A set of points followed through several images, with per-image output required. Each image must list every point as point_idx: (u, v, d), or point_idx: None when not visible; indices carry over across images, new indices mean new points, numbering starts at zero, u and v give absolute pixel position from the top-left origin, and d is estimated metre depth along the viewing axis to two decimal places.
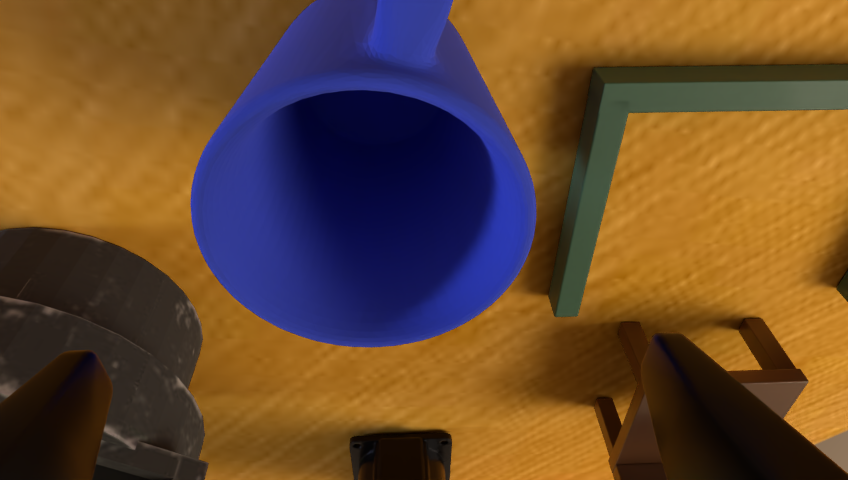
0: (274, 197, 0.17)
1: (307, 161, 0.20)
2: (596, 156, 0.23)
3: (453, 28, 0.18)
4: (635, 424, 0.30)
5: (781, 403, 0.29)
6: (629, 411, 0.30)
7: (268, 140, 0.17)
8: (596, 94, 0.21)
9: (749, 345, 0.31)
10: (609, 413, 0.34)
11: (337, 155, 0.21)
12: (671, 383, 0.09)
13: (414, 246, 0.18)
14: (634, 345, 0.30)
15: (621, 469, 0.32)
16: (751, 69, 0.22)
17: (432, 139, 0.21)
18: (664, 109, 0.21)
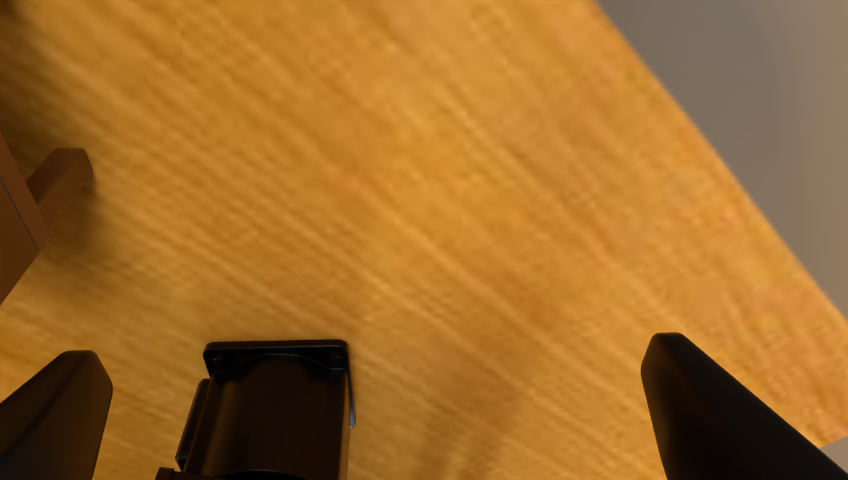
0: None
1: None
2: None
3: None
4: None
5: None
6: None
7: None
8: None
9: None
10: None
11: None
12: (671, 383, 0.09)
13: None
14: None
15: None
16: None
17: None
18: None
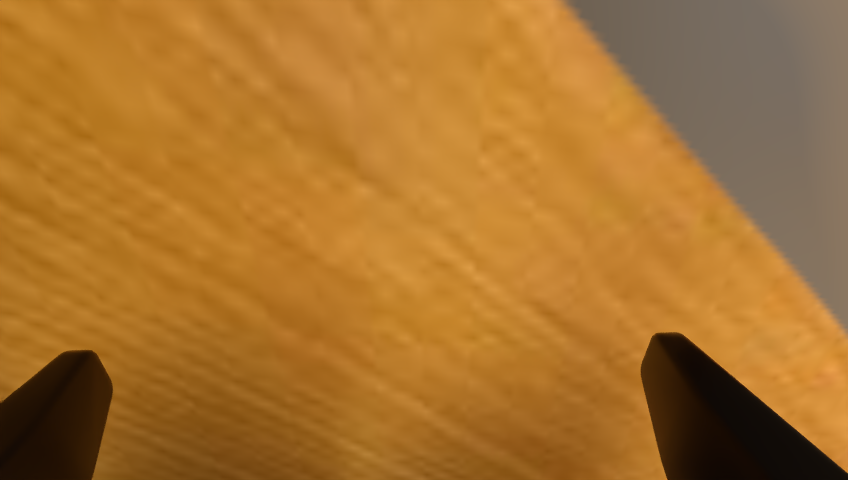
0: None
1: None
2: None
3: None
4: None
5: None
6: None
7: None
8: None
9: None
10: None
11: None
12: (671, 383, 0.09)
13: None
14: None
15: None
16: None
17: None
18: None
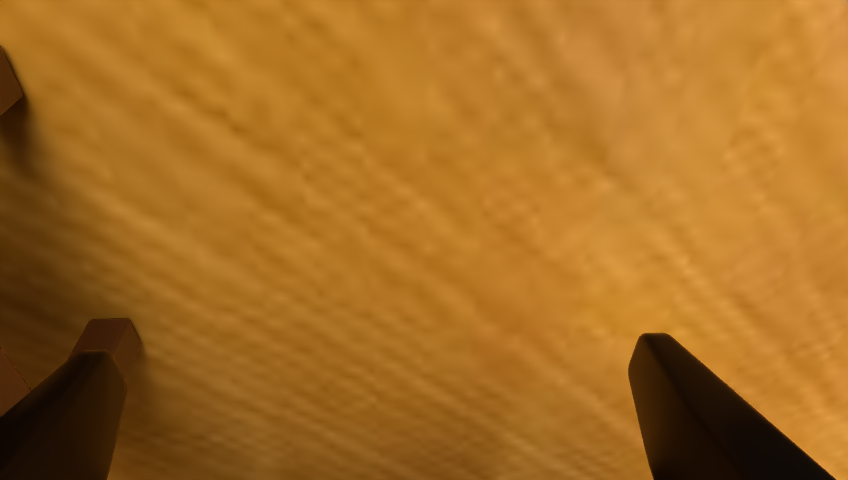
0: None
1: None
2: None
3: None
4: None
5: None
6: None
7: None
8: None
9: None
10: None
11: None
12: (657, 383, 0.09)
13: None
14: None
15: None
16: None
17: None
18: None
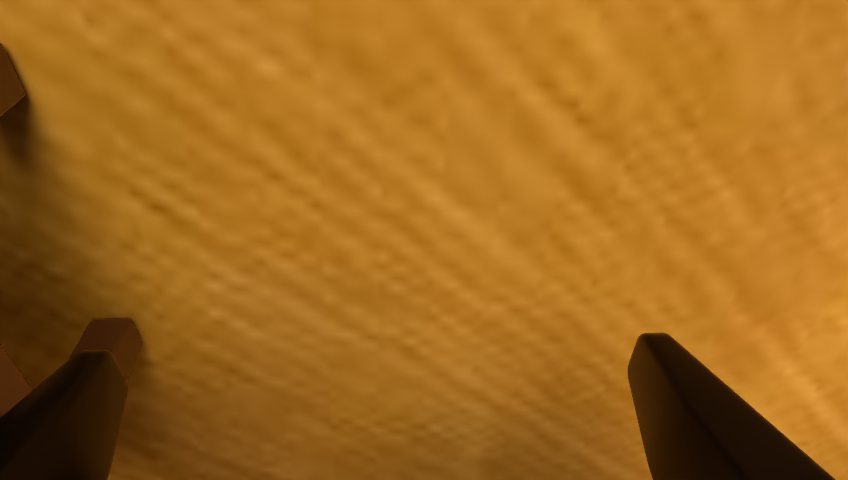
0: None
1: None
2: None
3: None
4: None
5: None
6: None
7: None
8: None
9: None
10: None
11: None
12: (656, 384, 0.09)
13: None
14: None
15: None
16: None
17: None
18: None
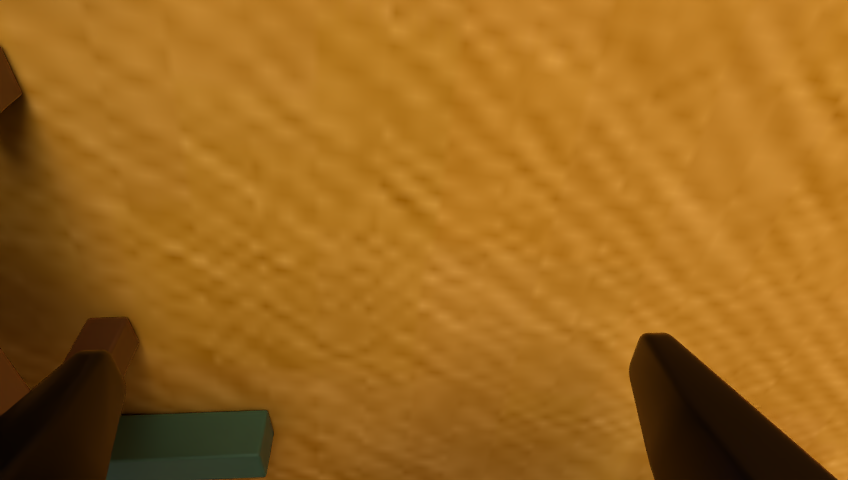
0: None
1: None
2: None
3: None
4: None
5: None
6: None
7: None
8: None
9: None
10: None
11: None
12: (658, 383, 0.09)
13: None
14: None
15: None
16: None
17: None
18: None
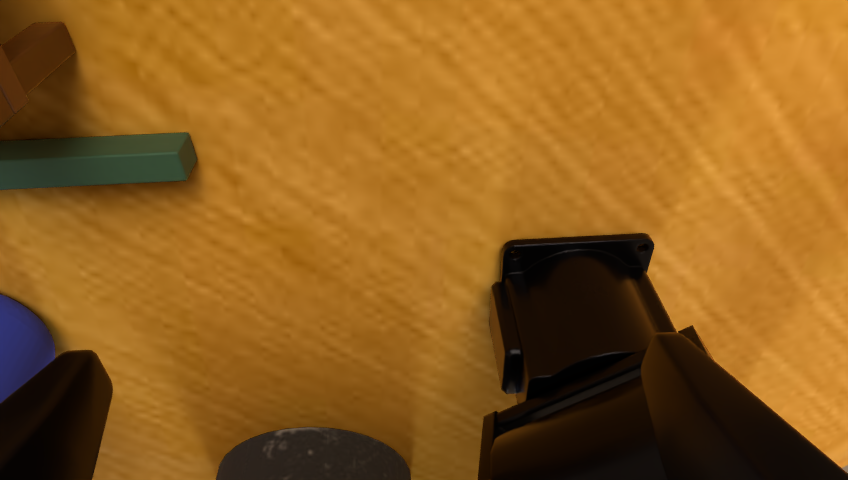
0: None
1: None
2: None
3: None
4: None
5: None
6: None
7: None
8: None
9: None
10: None
11: None
12: (671, 383, 0.09)
13: None
14: None
15: None
16: None
17: None
18: None
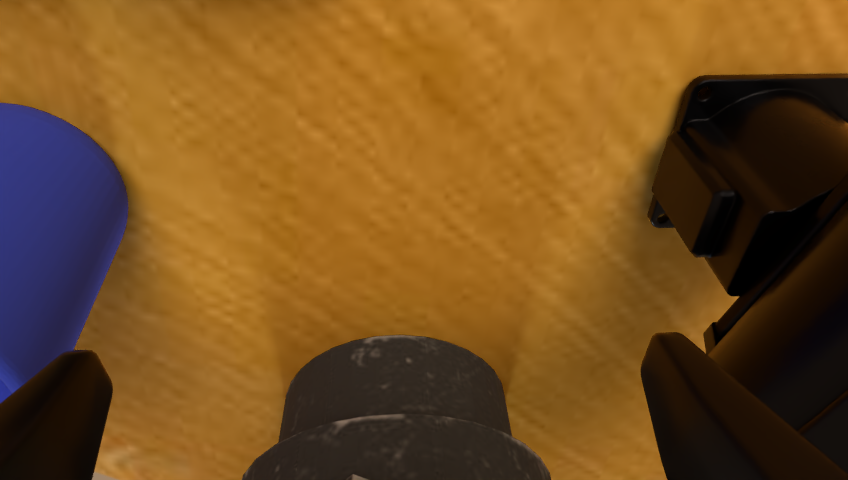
0: None
1: None
2: None
3: None
4: None
5: None
6: None
7: None
8: None
9: None
10: None
11: None
12: (671, 383, 0.09)
13: None
14: None
15: None
16: None
17: None
18: None
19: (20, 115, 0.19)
